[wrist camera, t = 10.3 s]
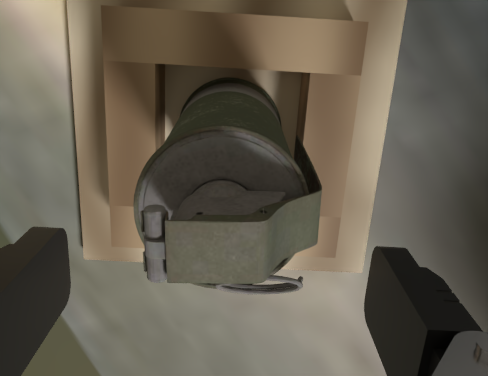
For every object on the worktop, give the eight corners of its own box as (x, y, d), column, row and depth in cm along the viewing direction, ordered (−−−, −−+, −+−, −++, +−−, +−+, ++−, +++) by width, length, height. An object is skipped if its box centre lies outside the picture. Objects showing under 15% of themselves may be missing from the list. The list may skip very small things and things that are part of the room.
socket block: (407, -30, 25) (436, -38, 21) (359, 266, 31) (375, 301, 27) (68, -52, 24) (37, -64, 21) (87, 253, 31) (66, 286, 27)
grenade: (180, 178, 28) (118, 342, 14) (177, 76, 26) (101, 147, 12) (284, 179, 28) (329, 344, 14) (290, 78, 26) (349, 152, 12)
